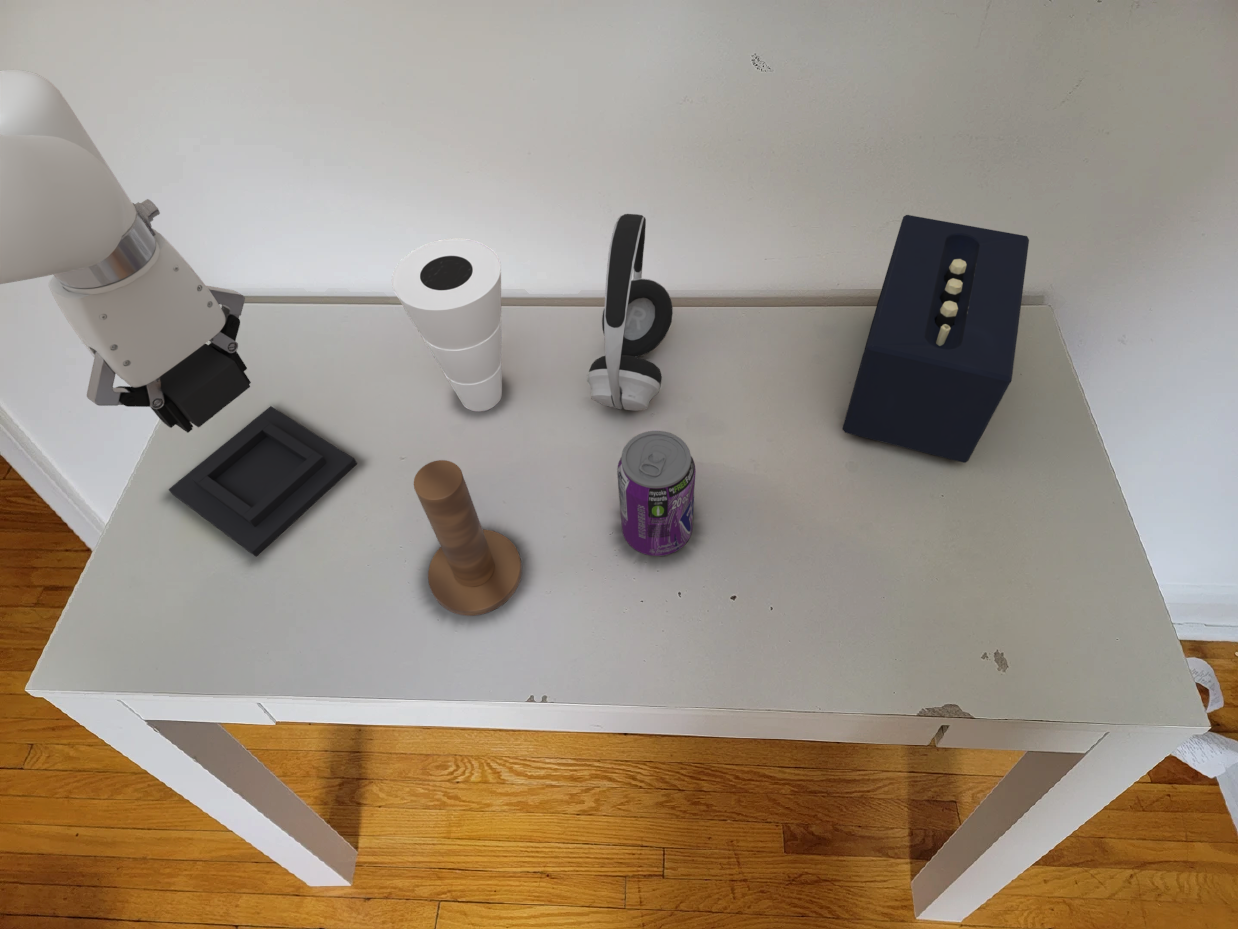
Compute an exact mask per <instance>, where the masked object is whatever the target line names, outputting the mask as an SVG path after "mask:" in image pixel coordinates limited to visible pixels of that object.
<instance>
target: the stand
mask: <svg viewBox="0 0 1238 929" xmlns="http://www.w3.org/2000/svg"><path fill="white" fill-rule="evenodd" d="M413 489H414V491H415V493H416V496H417V499H418V500H419V502H420V504H421V507H422V509H423V511H424V513H425V516H426V518H427V520H428V522H429V524H430V526H431V528H432V530H433V533H434V535H435V537H436V540H437V541H438V544H439V546H440V547H439V548H438V549H437V550H436V552H435V553H434V555H433V556H432V558H431V560H430V563H429V567H428V571H427V579H428V586H429V589H430V591H431V593H432V595H433V597H434V599H435V600H436V601H437V603H438V604H439V605H440V606H441V607H443V608H444V609H445V610H447V611H449V612H451V613H453V614H456V615H460V616H467V617H469V616H470V617H471V616H472V617H473V616H481V615H484V614H488V613H490V612H493V611H494V610H496V609H498V608H500V607H501V606H503V605H504V604H505V603H506V602H507V601H509V600H510V598H511V597H512V596H514V594H515V592H516V591H517V589H518V587H519V585H520V582H521V579H522V575H523V574H522V573H523V565H522V560H521V557H520V553H519V551H518V549H517V547H516V546H515V544H514V543H513V542H512V541H511V540H510V539H509V538H508V537H507V536H505V535H503V534H501V533H500V532H498V531H494V530H490V529H483V527H482V524H481V522H480V519H479V516H478V514H477V510H476V507H475V505H474V502H473V499H472V496H471V493H470V491H469V488H468V486H467V482H466V480H465V477H464V474H463V471H462V469H461V467H460V466H459V465H458V464H456V463H455V462H453V461H450V460H445V459H438V460H433V461H431V462H428V463H425V465H423V466H422V467H420V468H419V470H418V471H417V472H416V474H415V476H414V478H413Z"/></svg>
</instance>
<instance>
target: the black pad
mask: <svg viewBox="0 0 1238 929" xmlns="http://www.w3.org/2000/svg"><path fill="white" fill-rule="evenodd" d="M160 380H161V385H162V390H163V395H164V396H166V397H167V398H169V399H170V400H172V401H173V402H174V403H175V405H176V406H177V407H178V408H179V410H180V411H181V412H182V413H183V415H184V416H185V417H186V419H187V420H188V421H189V422H190V423H191V424H192V425H193V426H195V427H197V428H201V427H202V426H203V425H204V424H205V423H207V422H208V421H209V420H211V418H213V417H214V416H216V415H217V414H218V413H219V412H221V411H222V410H223V409H225V408H226V407H227V406H228V405H229V404H231V403H232V402H233V401H234V400H236V399H237V398H238V397H240V396H241V395H243V393H244V392H246V391H247V390H248V389H250V388H251V384H249V383H248V382H247V380H246V379H245V377H244V376H243V374H242V372H241V371H240V369H239V368H238V366H237V365H236V363H235V362H234V361H233V360H231V359H230V358H228V357H227V356H225V355H223V354H222V353H220V352H218V351H217V350H215V349H214V348H212V347H210V346H209V344H207V343H205V344H204V345H203V346H201V347H200V348H198V349H197V350H196V351H194V352H193V353H192V354H190V355H189V356H188V357H186V358H185V359H184V360H182V361H181V362H179V363H178V364H177V365H175V366H174V367H173V368H171V369H170V370H168V371H167V372H166V373H164V374H163V375H161V376H160Z"/></svg>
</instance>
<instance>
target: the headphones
mask: <svg viewBox="0 0 1238 929" xmlns="http://www.w3.org/2000/svg"><path fill="white" fill-rule="evenodd" d="M646 224H647V219H646V217H645V216H643V214H636V213H624V214H622V215H619V217H618V218H617V219H616V221H615V223H614V226H613V229H612V233H611V237H610V242H609V247H608V254H607V267H606V273H605V290H604V291H605V292H604V307H603V310H602V315H601V329H602V330H601V331H602V333H603V336H604V352H605V353H604V354H605V355H604V356H603V355H602V356H600V357H599V358H597V359H595V360H594V361H593V362H592V364H591V365H590V368H589V370H588V372H587V375H586V376H587V379H586V382H587V383H588V385H589V388H590V398H591V399H592V400H593V401H595V402H597V403H599V404H601V405H603V406H606V407H610V408H614V409H616V410H619V411H620V410H622V409H624V410H625V411H643V410H647V409H648V406H649V403H650V402H651V400H653V398H654V397H655V396H657V395H658V394H659V392H660V389H661V386H662V380H663V379H662V378H663V375H662V372H661V369H660V367H658V366H657V365H656V364H655V363H654V362H652V361H650V360H648V359H646V358H642V356H644V355H647V354H649V353H650V352H652V351H653V350H654V349H656V348H657V347H658V346H659V345H660V344H661V343H662V341H663V340H664V339H665V337H666V336H667V334H668V332H669V329H670V327H671V325H672V322H673V314H674V312H673V310H674V309H673V308H674V306H673V302H672V299H671V296H670V294H669V292H668V290H667V289H666V288H665V287H664V286H663V285H661V283H659V282H657V281H655V280H653V279H650V278H643V265H644V264H643V263H644V252H645V251H644V250H645V242H646V227H647V226H646ZM632 278H633V279H632Z"/></svg>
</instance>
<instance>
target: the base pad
mask: <svg viewBox="0 0 1238 929" xmlns="http://www.w3.org/2000/svg"><path fill="white" fill-rule="evenodd" d="M357 464H358V463H357V461H356V459H355V458H354V457H352V456H351V455H349V454H348V453H346V452H345V451H343V450H341V449H340V448H339V447H336V446H335V445H333V444H332V443H330V442H329V441H327V440H326V439H324V438H322V437H321V436H319V435H317V434H316V433H315V432H313V431H311V430H310V429H309V428H306V427H305V426H303V425H301V424H300V423H299V422H297V421H296V420H294V419H292V418H290V416H287V415H285V414H284V413H282V412H281V411H279V410H278V409H276V408H275V407H273V406H268V408H266V409H265V410H264V411H262V412H261V413H260V414H259V415H258V416H256V417H255V418H254V419H253V420H252V421H251V422H249V423H248V424H247V425H245V426H244V427H243V428H242V429H241V430H239V431H238V432H237V433H236V434H234V435H233V436H232V437H231V438H230V439H228V440H227V441H226V442H225V443H224V444H222V445H221V446H220V447H218V448H217V449H216V450H215V451H214V452H212V453H211V454H209V456H208V457H206V458H205V459H204V460H202V461H201V462H200V463H199V464H198V465H197V466H195V467H194V468H193V469H191V470H190V471H189V472H188V473H187V474H185V475H184V476H183V477H182V478H181V479H179V480H178V481H177V482H176V483H174V484H173V485H172V486H171V487H169V488H168V491H169V492H170V494H172V496H174V497H175V498H176V499H178V500H179V501H181V502H182V503H183V504H185V505H186V506H187V507H188V508H190V509H191V510H192V511H194V512H195V513H196V514H198V515H199V516H200V517H202V518H203V519H204V520H206V521H207V522H209V523H210V524H211V525H213V526H214V527H215V528H217V529H218V530H219V531H220V532H222V533H223V534H224V535H226V536H227V537H229V538H230V539H231V540H233V541H234V542H235V543H236V544H238V545H239V546H241V547H242V548H243V549H245V550H246V551H247V552H248V553H250V554H251V555H253V556H254V557H257V556H259V555H260V554H261V553H262V552H263V551H264V550H265V549H266V548H268V547H269V546H270V545H271V544H272V543H273V542H274V541H275V540H276V539H277V538H278V537H280V536H281V535H282V534H283V533H284V532H286V530H287V529H288V528H289V527H290V526H291V525H293V524H294V523H295V522H296V521H297V520H298V519H299V518H300V517H301V516H302V515H303V514H304V513H306V512H307V511H308V510H309V509H310V508H311V507H312V506H313V505H314V504H315V503H316V502H318V500H320V499H321V498H322V497H323V496H324V495H325V494H326V493H327V492H328V491H330V489H332V488H333V487H334V486H335V485H336V484H337V483H338V482H339V481H340V480H341V479H342V478H343V477H344V476H346V475H347V474H348V473H349V472H350V471H351V470H353V468H354V467H356V466H357Z"/></svg>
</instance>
